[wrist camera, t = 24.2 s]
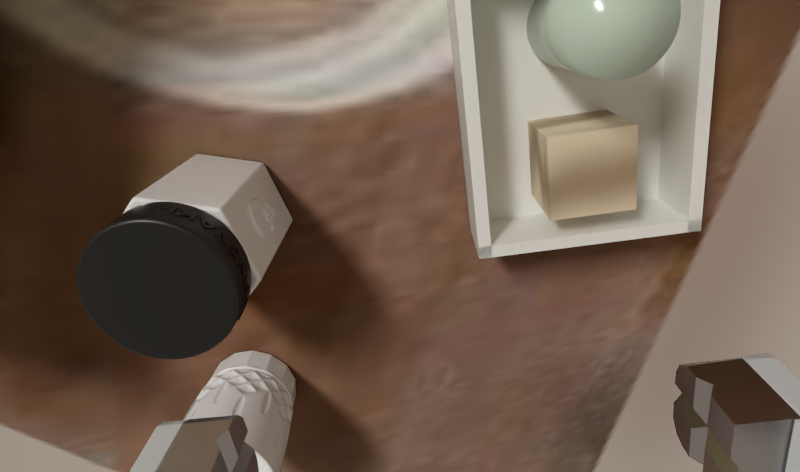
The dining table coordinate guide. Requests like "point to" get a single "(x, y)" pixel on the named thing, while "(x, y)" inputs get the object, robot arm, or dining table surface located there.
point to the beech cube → (583, 164)
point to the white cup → (252, 402)
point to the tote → (571, 94)
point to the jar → (184, 257)
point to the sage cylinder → (603, 34)
